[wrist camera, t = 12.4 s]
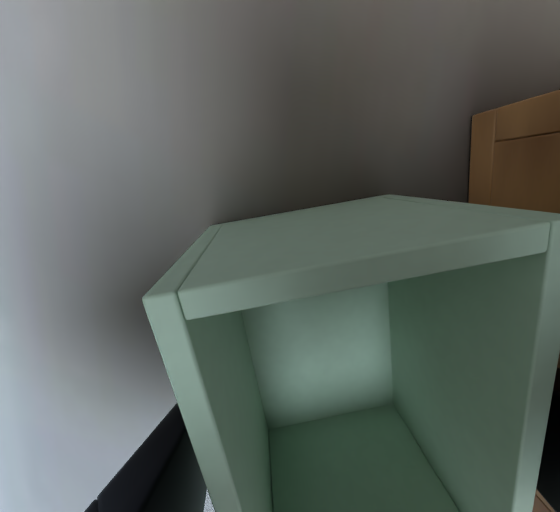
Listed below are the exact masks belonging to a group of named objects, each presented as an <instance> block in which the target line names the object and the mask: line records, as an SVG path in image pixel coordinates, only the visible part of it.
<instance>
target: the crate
mask: <svg viewBox="0 0 560 512" xmlns="http://www.w3.org/2000/svg"><path fill="white" fill-rule="evenodd" d="M468 203H471V204H480V205H489V206H497V207H506V208H515V209H524V210H533V211H541V212H550V213H559V214H560V89H559V90H556V91H553V92H549V93H546V94H542V95H539V96H536V97H532V98H529V99H525V100H522V101H519V102H515V103H512V104H509V105H505V106H502V107H499V108H495V109H492V110H488V111H485V112H482V113H478V114H475V115H473V116H472V131H471V153H470V175H469V198H468ZM557 367H558V368H560V352H559V358H558V364H557ZM532 512H555V511H554V509H553V508H552V507H551V506H550V505H549V503H548V502H547V501H546V500H545V499H544V497H543V496H542V495H541V494H540V493H539V491H538V490H537V489H536V492H535V498H534V504H533V510H532Z"/></svg>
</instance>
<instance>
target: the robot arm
mask: <svg viewBox="0 0 560 512" xmlns="http://www.w3.org/2000/svg"><path fill="white" fill-rule="evenodd" d="M536 489H537V490H538V491H539V493H540V494H541V495H542V496H543V497H544V499H545V500H546V501H547V502H548V503H549V505H550V506H551V507H552V508H553V509H554V511H555V512H560V368H558V367H557V370H556V376H555V381H554V387H553V393H552V399H551V405H550V411H549V416H548V422H547V428H546V434H545V440H544V446H543V451H542V457H541V463H540V469H539V475H538V481H537V486H536ZM206 491H207V487H206V484H205V481H204V478H203V475H202V472H201V469H200V466H199V464H198V461H197V458H196V455H195V452H194V449H193V446H192V443H191V440H190V438H189V435H188V432H187V429H186V426H185V423H184V420H183V417H182V414H181V412H180V409H179V406H178V403H177V404H176V405H175V406H174V407H173V408H172V410H171V411H170V412H169V413H168V414H167V415H166V417H165V418H164V419H163V420H162V421H161V422H160V424H159V425H158V426H157V427H156V428H155V429H154V431H153V432H152V433H151V434H150V435H149V437H148V438H147V439H146V440H145V441H144V442H143V444H142V445H141V446H140V447H139V448H138V449H137V451H136V452H135V453H134V454H133V455H132V456H131V458H130V459H129V460H128V461H127V462H126V464H125V465H124V466H123V467H122V468H121V469H120V471H119V472H118V473H117V474H116V475H115V476H114V478H113V479H112V480H111V481H110V482H109V483H108V485H107V486H106V487H105V488H104V489H103V491H102V492H101V493H100V494H99V495H98V497H97V500H94V501H93V502H92V503H91V504H90V506H89V507H88V508H87V509H86V510H85V511H84V512H203V511H204V504H205V497H206Z"/></svg>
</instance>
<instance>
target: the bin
mask: <svg viewBox="0 0 560 512" xmlns="http://www.w3.org/2000/svg"><path fill="white" fill-rule="evenodd" d="M142 302H143V305H144V307H145V310H146V313H147V316H148V319H149V322H150V325H151V328H152V331H153V333H154V336H155V339H156V342H157V345H158V348H159V351H160V354H161V357H162V359H163V362H164V365H165V368H166V371H167V374H168V377H169V380H170V383H171V386H172V388H173V391H174V394H175V397H176V400H177V403H178V406H179V409H180V412H181V414H182V417H183V420H184V423H185V426H186V429H187V432H188V435H189V438H190V440H191V443H192V446H193V449H194V452H195V455H196V458H197V461H198V464H199V466H200V469H201V472H202V475H203V478H204V481H205V484H206V487H207V490H208V492H209V495H210V498H211V501H212V504H213V507H214V510H215V512H532V510H533V504H534V498H535V492H536V486H537V481H538V475H539V469H540V463H541V457H542V451H543V446H544V440H545V434H546V428H547V422H548V416H549V411H550V405H551V399H552V393H553V387H554V381H555V376H556V370H557V364H558V358H559V352H560V214H559V213H550V212H541V211H533V210H524V209H515V208H506V207H497V206H489V205H480V204H471V203H462V202H453V201H445V200H436V199H427V198H418V197H409V196H400V195H391V194H387V195H381V196H376V197H370V198H364V199H359V200H353V201H347V202H342V203H336V204H330V205H325V206H319V207H313V208H307V209H302V210H296V211H290V212H285V213H279V214H273V215H268V216H262V217H256V218H251V219H245V220H239V221H233V222H228V223H222V224H216V225H211V226H210V227H209V228H208V229H207V230H206V231H205V232H204V233H203V234H202V235H201V236H200V237H199V238H198V239H197V240H196V241H195V242H194V243H193V244H192V246H191V247H190V248H189V249H188V250H187V251H186V252H185V253H184V254H183V255H182V256H181V257H180V258H179V259H178V260H177V261H176V262H175V263H174V265H173V266H172V267H171V268H170V269H169V270H168V271H167V272H166V273H165V274H164V275H163V276H162V277H161V278H160V279H159V280H158V281H157V282H156V284H155V285H154V286H153V287H152V288H151V289H150V290H149V291H148V292H147V293H146V294H145V295H144V296H143V298H142Z"/></svg>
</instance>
